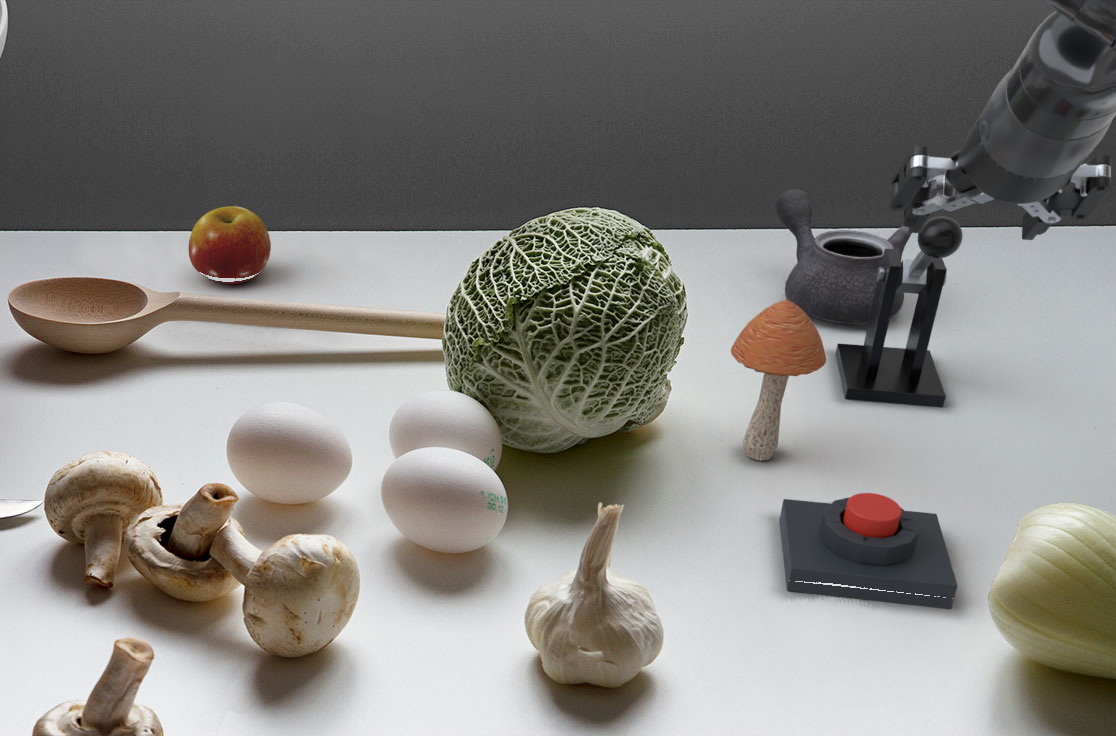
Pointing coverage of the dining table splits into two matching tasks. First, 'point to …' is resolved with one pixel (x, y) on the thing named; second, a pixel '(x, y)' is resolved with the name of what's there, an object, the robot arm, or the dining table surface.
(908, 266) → the lever
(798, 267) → the teapot
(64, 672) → the dining table surface
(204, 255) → the fruit
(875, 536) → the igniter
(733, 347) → the mushroom
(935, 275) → the bracket
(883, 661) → the dining table surface
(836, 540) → the block
